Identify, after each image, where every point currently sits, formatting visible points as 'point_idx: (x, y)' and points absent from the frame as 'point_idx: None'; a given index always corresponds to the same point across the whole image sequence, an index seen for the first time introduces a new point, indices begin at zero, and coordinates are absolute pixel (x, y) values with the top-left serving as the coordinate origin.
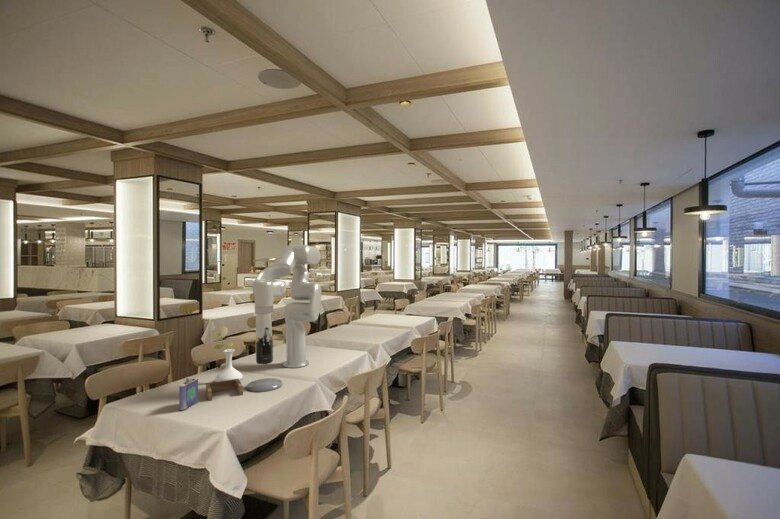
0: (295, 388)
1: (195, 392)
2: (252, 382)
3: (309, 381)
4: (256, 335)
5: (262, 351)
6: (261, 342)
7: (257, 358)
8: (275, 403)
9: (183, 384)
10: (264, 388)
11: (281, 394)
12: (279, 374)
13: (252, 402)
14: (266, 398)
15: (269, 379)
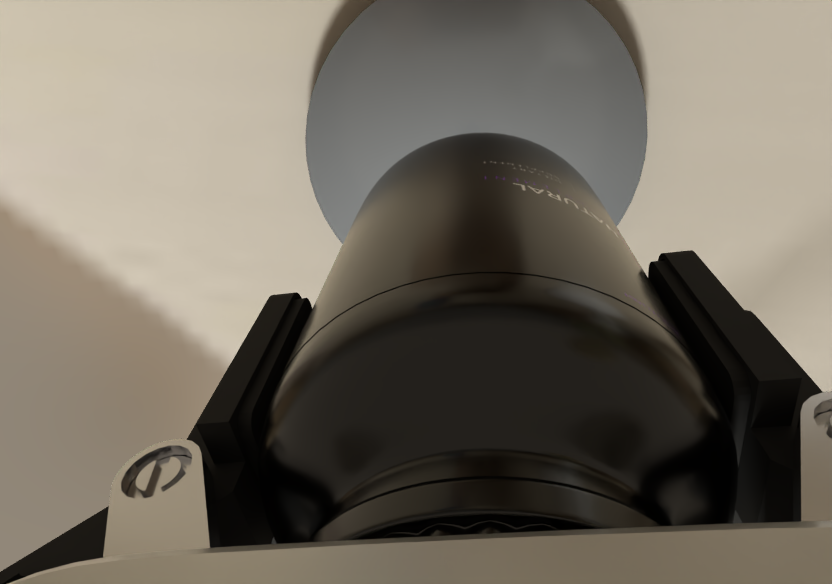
0: None
1: None
2: (573, 31)
3: None
4: (765, 559)
5: (255, 326)
6: (283, 462)
7: (402, 173)
8: (13, 195)
9: None
10: (315, 144)
11: (208, 257)
12: (778, 307)
13: (46, 10)
14: (134, 139)
15: None
